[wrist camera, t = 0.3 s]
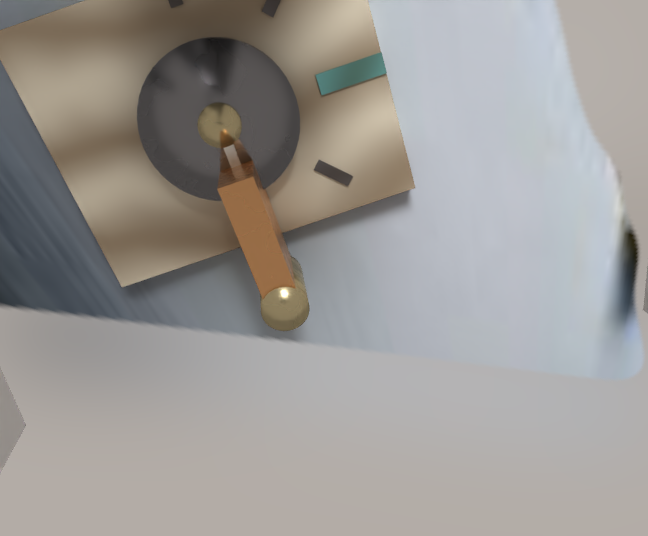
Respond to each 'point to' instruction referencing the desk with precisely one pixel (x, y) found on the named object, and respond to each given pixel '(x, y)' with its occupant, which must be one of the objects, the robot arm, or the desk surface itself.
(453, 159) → the desk surface
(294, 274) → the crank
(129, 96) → the panel
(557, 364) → the desk surface
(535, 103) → the desk surface
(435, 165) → the desk surface
